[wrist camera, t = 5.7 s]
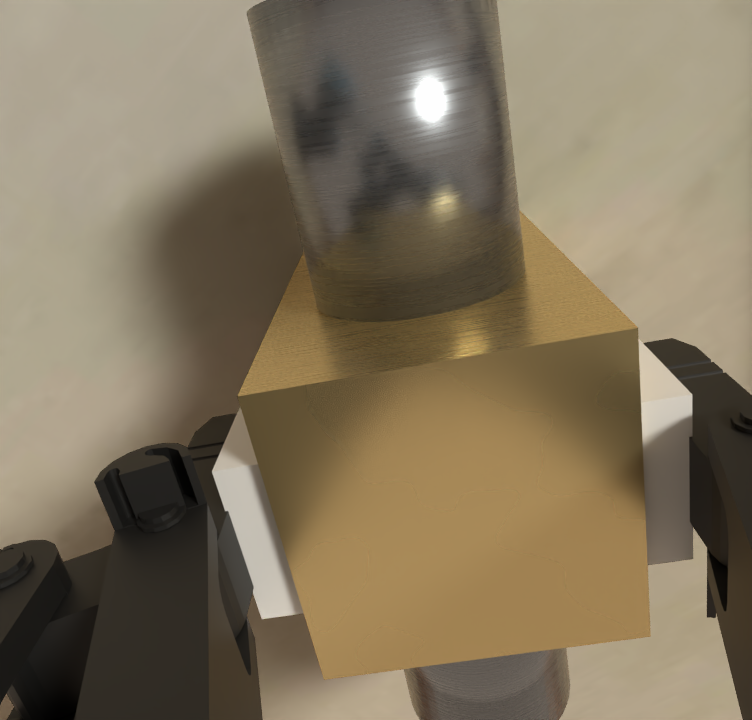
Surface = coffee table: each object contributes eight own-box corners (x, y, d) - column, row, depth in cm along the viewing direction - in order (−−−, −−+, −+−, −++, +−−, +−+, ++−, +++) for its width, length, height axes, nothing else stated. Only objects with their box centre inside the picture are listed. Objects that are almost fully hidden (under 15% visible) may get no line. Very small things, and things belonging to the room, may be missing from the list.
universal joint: (380, 561, 19) (378, 857, 12) (256, 40, 14) (115, 2, 7) (552, 536, 19) (658, 826, 12) (492, -12, 14) (619, -113, 6)
